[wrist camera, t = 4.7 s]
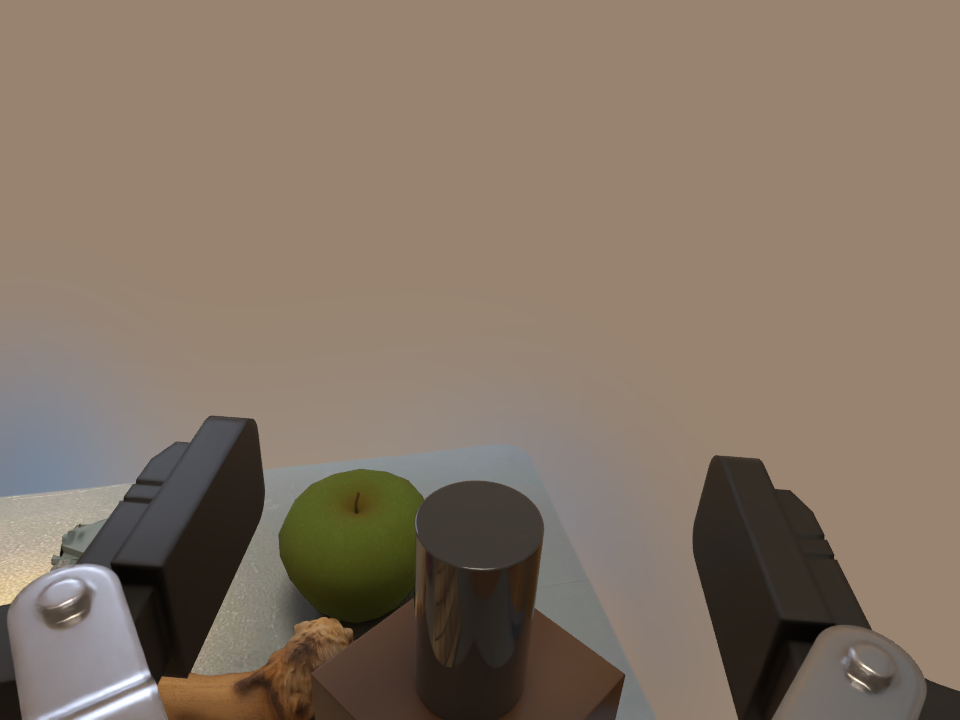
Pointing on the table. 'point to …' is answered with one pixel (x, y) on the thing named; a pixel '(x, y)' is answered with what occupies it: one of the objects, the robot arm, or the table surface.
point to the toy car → (76, 544)
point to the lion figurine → (260, 681)
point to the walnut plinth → (403, 716)
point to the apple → (352, 543)
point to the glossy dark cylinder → (474, 598)
